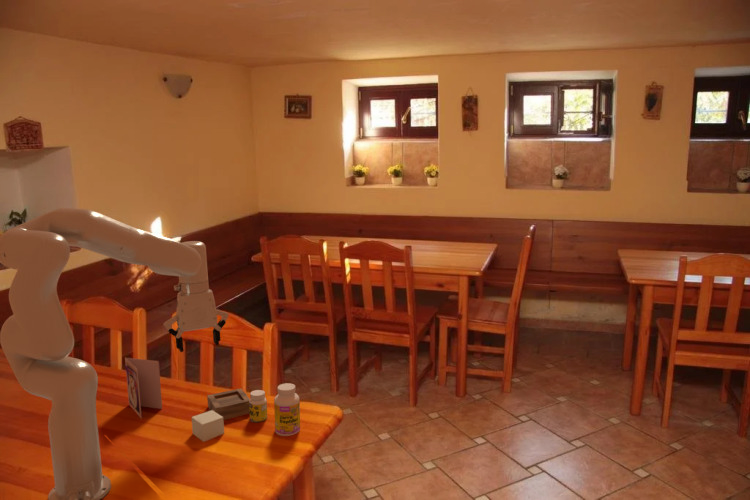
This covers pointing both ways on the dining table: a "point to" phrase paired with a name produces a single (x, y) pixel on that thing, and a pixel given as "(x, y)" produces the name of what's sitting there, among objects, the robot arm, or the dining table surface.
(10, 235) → the robot arm
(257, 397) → the supplement bottle
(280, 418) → the supplement bottle
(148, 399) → the greeting card
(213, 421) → the beige block
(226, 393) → the walnut tray
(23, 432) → the dining table surface
